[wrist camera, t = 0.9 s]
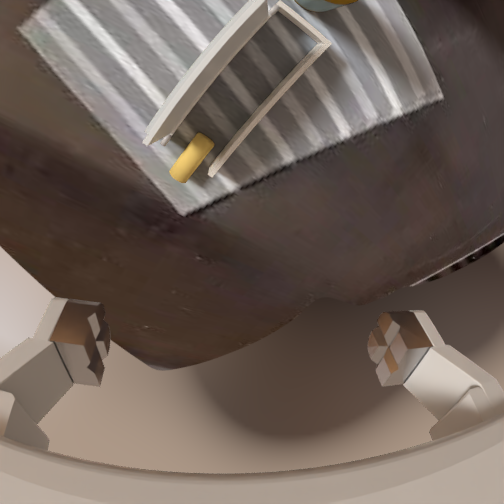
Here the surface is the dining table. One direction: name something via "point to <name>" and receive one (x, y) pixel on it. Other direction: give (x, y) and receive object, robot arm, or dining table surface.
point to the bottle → (322, 4)
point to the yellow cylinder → (191, 157)
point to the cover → (206, 69)
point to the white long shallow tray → (276, 93)
